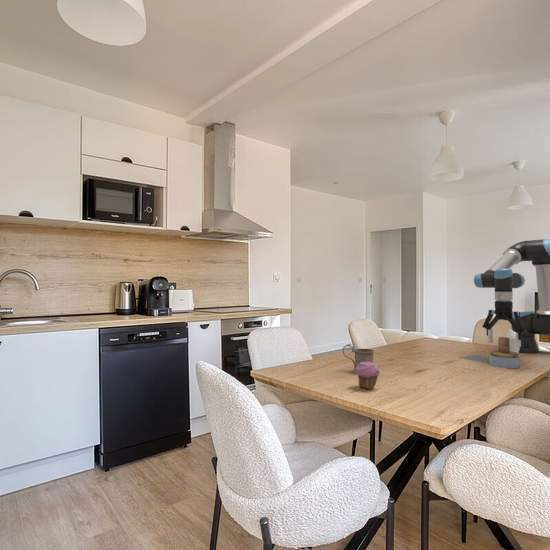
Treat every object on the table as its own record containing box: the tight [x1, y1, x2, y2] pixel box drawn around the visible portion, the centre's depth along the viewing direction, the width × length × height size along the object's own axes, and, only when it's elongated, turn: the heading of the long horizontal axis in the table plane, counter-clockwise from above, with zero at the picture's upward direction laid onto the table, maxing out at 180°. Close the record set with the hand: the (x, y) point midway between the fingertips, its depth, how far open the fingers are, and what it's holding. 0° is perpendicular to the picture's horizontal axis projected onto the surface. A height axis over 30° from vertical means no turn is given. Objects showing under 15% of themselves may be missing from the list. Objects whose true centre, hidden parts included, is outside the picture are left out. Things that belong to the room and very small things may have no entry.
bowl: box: [488, 353, 520, 370], centre depth 187 cm, size 12×12×5 cm
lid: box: [489, 336, 520, 358], centre depth 187 cm, size 12×12×8 cm
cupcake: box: [355, 362, 380, 391], centre depth 148 cm, size 9×9×10 cm
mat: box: [458, 354, 489, 363], centre depth 203 cm, size 14×14×1 cm
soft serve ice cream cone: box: [502, 328, 520, 353], centre depth 204 cm, size 8×8×16 cm
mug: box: [342, 343, 375, 374], centre depth 175 cm, size 14×10×12 cm
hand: (503, 344), depth 187 cm, fingers open, 13 cm apart
